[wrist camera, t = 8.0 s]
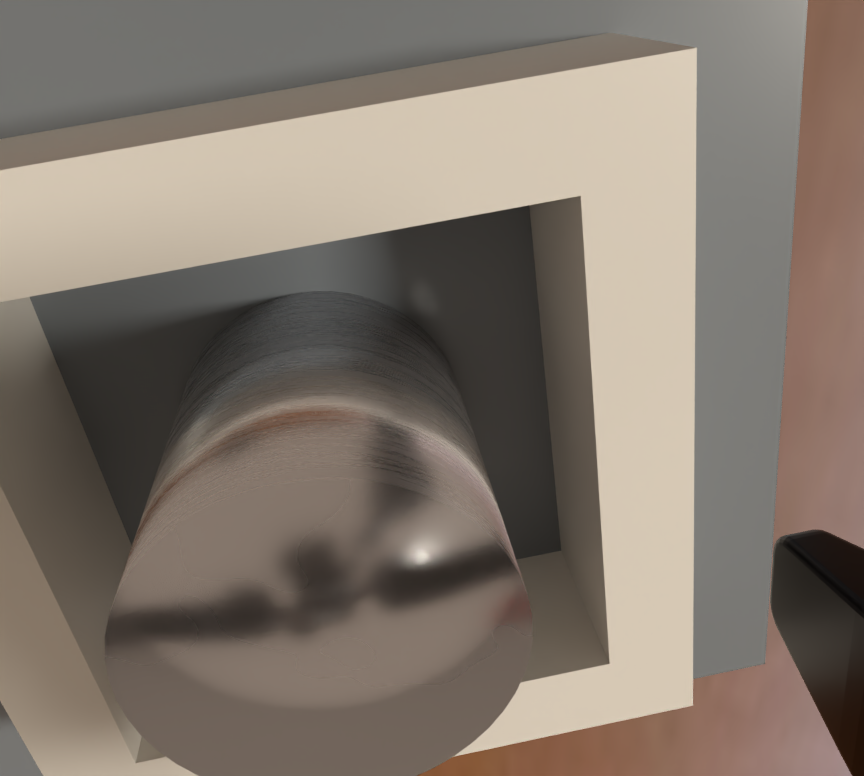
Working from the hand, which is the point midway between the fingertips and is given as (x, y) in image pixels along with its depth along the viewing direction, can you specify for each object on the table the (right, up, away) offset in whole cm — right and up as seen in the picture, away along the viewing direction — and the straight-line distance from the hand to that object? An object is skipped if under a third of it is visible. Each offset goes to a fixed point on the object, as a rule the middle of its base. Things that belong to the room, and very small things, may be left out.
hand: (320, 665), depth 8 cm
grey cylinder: (-1, +2, +4) cm, 5 cm away
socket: (-1, +3, +5) cm, 6 cm away
